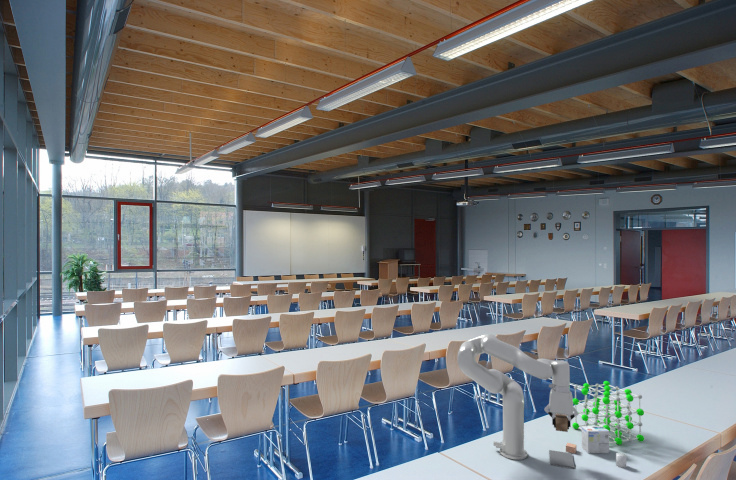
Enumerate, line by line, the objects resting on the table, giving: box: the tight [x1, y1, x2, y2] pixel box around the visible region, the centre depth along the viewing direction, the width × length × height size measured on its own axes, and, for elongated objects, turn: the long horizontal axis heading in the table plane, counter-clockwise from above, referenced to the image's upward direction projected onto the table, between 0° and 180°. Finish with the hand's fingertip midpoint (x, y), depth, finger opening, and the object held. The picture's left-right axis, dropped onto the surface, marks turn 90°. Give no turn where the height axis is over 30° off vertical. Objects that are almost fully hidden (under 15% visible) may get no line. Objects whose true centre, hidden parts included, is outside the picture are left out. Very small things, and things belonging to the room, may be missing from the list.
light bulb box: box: [580, 425, 610, 454], centre depth 215 cm, size 11×7×11 cm, turn 92°
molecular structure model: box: [572, 380, 645, 446], centre depth 233 cm, size 24×25×24 cm
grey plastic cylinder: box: [615, 452, 627, 469], centre depth 200 cm, size 4×4×5 cm
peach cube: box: [565, 442, 578, 454], centre depth 214 cm, size 4×4×3 cm
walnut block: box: [554, 414, 569, 433], centre depth 206 cm, size 5×5×6 cm
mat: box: [548, 449, 575, 470], centre depth 205 cm, size 10×14×1 cm
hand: (561, 427), depth 206 cm, fingers closed on walnut block, 5 cm apart
